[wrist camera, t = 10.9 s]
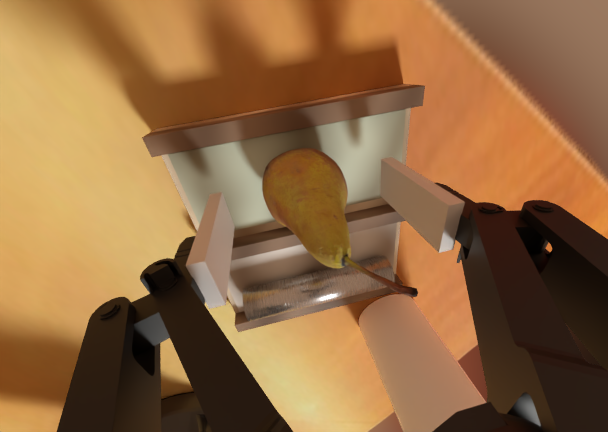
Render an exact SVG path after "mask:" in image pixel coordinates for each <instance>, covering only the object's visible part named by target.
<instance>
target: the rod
mask: <svg viewBox="0 0 608 432" xmlns="http://www.w3.org/2000/svg"><path fill="white" fill-rule="evenodd" d="M355 263H356V264H357V265H359V266H362V267H364V268H365V269H367V270H369V271H370V272H373V273H375V274H377V275H379V276H381V277H384V278H386V279H388V280H391V281H393V282H395V276H394V272H393V268H392V266H391V264H390V262H389V260H388V259H387V257H385V256H384V255H382V256H378V257H374V258H370V259H366V260H362V261H357V262H355ZM385 287H387V286H385V285H383V284H381V283H379V282H378V281H376V280H374V279H373V278H371V277H369V276H367V275H365V274H363V273H362V272H360V271H358V270H356V269H355V268H352V267H349V266H344V267H342V268H339V269H338V268H328V269H324V270H320V271H316V272H312V273H307V274H303V275H299V276H295V277H291V278H287V279H282V280H278V281H274V282H270V283H266V284H262V285H257V286H253V287H249V288H245V289H243V306H244V312H245V315H246V318H247V320H248V321H249V322H250V321H254V320H258V319H262V318H266V317H270V316H274V315H278V314H282V313H286V312H290V311H294V310H298V309H302V308H306V307H310V306H314V305H318V304H322V303H326V302H330V301H333V300H337V299H341V298H345V297H349V296H353V295H357V294H361V293H365V292H369V291H373V290H377V289H381V288H385Z"/></svg>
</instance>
